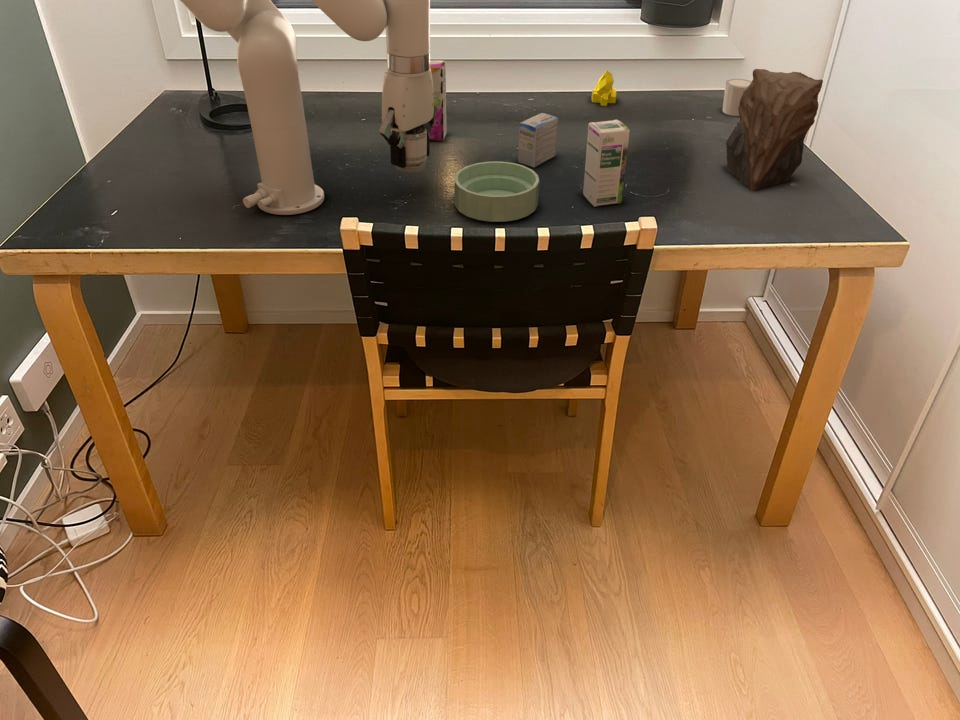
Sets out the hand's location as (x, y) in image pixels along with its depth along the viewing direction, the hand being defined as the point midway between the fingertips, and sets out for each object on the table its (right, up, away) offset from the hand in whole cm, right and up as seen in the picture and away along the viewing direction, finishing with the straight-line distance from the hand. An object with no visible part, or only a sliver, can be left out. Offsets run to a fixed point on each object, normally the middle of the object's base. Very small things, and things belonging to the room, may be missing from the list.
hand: (410, 159), depth 142 cm
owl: (+69, -1, +10) cm, 70 cm away
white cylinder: (+75, +22, +41) cm, 88 cm away
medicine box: (+25, +4, +17) cm, 31 cm away
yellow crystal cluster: (+44, +27, +47) cm, 70 cm away
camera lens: (0, -1, +1) cm, 2 cm away
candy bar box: (0, +12, +27) cm, 30 cm away
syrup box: (+37, -7, +2) cm, 37 cm away
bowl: (+16, -9, 0) cm, 19 cm away
